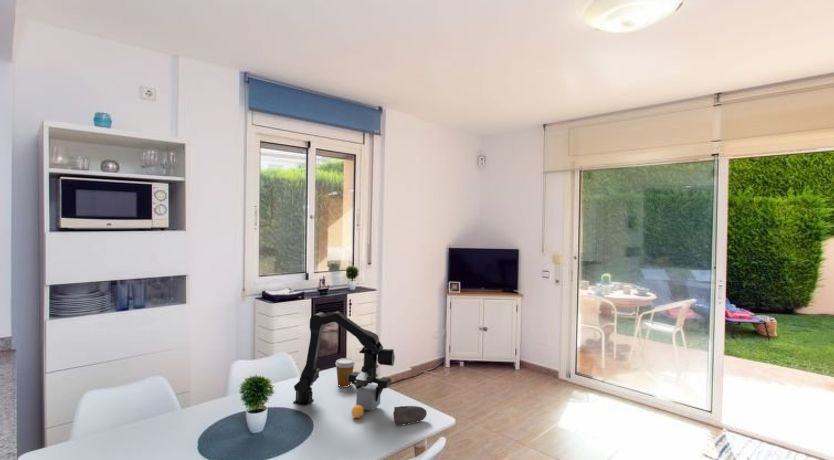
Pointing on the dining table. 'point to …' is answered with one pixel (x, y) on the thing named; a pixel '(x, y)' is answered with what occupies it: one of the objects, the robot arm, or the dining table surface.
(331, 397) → the dining table surface
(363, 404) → the grey cube
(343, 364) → the disposable coffee cup
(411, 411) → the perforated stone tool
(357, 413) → the ball
